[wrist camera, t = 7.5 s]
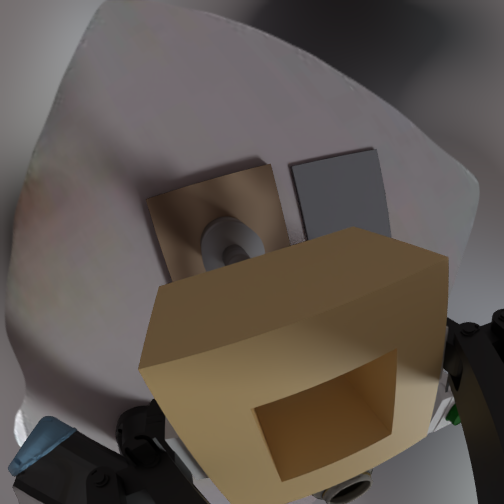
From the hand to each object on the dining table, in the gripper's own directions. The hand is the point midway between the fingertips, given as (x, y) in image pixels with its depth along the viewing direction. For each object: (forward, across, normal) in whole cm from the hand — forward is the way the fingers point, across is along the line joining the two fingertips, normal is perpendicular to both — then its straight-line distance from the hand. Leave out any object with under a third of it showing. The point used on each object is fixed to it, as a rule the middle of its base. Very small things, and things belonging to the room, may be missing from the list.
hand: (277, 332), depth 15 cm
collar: (-1, 0, 0) cm, 1 cm away
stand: (+25, 0, 0) cm, 25 cm away
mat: (+25, +18, 0) cm, 31 cm away
